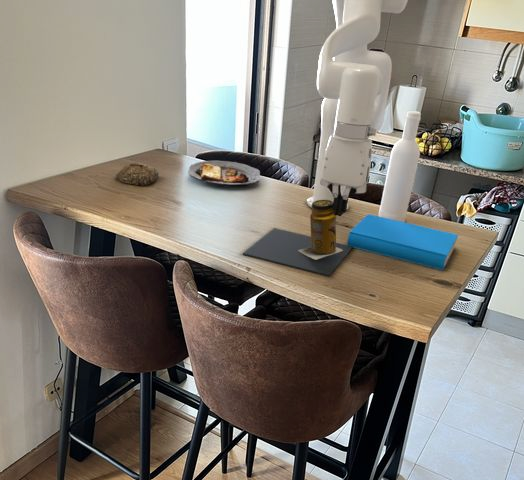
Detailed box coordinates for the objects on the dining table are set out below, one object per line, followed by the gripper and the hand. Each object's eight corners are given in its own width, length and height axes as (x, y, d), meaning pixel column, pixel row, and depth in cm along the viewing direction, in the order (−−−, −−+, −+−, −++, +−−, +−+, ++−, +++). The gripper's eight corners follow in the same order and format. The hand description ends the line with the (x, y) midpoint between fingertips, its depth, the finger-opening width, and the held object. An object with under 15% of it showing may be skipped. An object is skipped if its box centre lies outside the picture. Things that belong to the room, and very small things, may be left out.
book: (367, 213, 156) (458, 233, 148) (364, 228, 158) (454, 248, 150) (348, 232, 143) (447, 254, 135) (346, 248, 145) (443, 271, 137)
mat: (274, 229, 151) (274, 228, 151) (352, 248, 145) (353, 246, 144) (242, 254, 135) (242, 253, 135) (329, 276, 129) (329, 275, 129)
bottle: (384, 214, 169) (406, 107, 153) (408, 221, 166) (434, 113, 149) (372, 220, 164) (394, 110, 147) (397, 228, 160) (422, 116, 144)
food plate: (258, 193, 176) (259, 182, 174) (184, 186, 175) (184, 175, 173) (260, 171, 197) (260, 161, 195) (193, 165, 196) (193, 155, 194)
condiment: (343, 250, 137) (343, 202, 130) (315, 260, 133) (314, 211, 127) (324, 242, 142) (323, 195, 136) (297, 251, 139) (295, 204, 132)
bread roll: (163, 177, 182) (163, 161, 179) (148, 187, 172) (147, 171, 169) (126, 171, 184) (125, 156, 181) (109, 181, 173) (108, 165, 171)
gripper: (389, 134, 122) (373, 216, 131) (323, 123, 126) (313, 204, 136) (382, 139, 116) (365, 225, 125) (313, 128, 120) (303, 212, 130)
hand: (338, 214), depth 130 cm, fingers closed
